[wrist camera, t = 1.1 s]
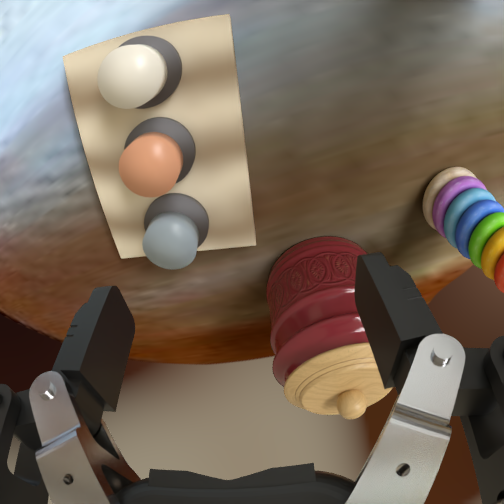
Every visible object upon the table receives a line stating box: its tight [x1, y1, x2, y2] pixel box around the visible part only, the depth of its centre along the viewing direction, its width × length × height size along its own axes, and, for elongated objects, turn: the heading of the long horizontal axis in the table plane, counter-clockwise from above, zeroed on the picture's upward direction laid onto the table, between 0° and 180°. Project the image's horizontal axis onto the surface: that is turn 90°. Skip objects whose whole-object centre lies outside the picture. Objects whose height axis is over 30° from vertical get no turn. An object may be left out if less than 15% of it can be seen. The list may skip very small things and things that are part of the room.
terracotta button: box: [119, 132, 183, 197], centre depth 23 cm, size 5×5×2 cm
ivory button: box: [97, 44, 167, 109], centre depth 19 cm, size 5×5×2 cm
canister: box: [266, 236, 393, 419], centre depth 31 cm, size 13×13×18 cm
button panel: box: [63, 14, 256, 259], centre depth 26 cm, size 21×14×3 cm, turn 6°
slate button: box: [142, 211, 199, 269], centre depth 27 cm, size 5×5×2 cm
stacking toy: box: [423, 167, 504, 293], centre depth 24 cm, size 8×8×19 cm
